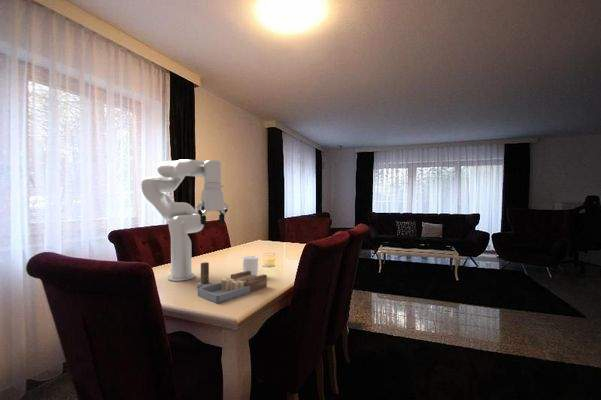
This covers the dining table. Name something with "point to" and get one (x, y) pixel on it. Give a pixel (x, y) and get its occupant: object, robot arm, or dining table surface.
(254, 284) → the slot block
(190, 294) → the dining table surface
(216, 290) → the tray
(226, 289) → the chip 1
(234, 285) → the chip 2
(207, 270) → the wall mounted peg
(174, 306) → the dining table surface
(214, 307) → the dining table surface
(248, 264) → the white cup
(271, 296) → the dining table surface
